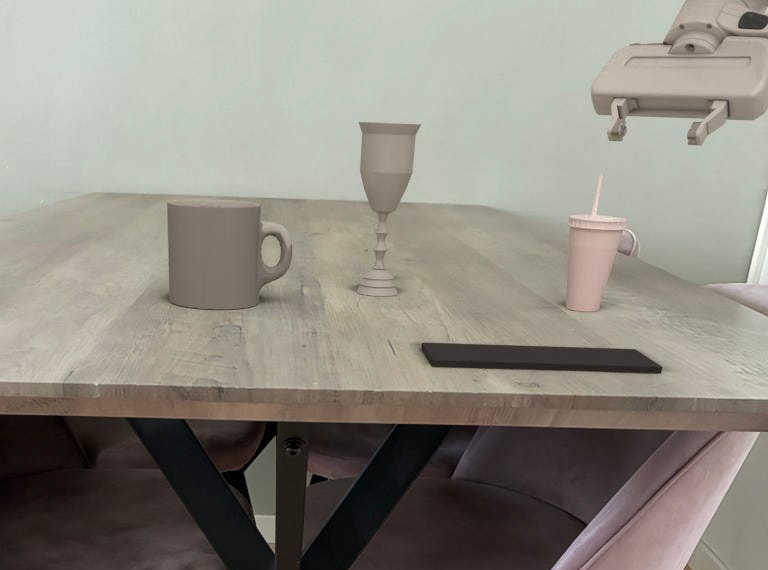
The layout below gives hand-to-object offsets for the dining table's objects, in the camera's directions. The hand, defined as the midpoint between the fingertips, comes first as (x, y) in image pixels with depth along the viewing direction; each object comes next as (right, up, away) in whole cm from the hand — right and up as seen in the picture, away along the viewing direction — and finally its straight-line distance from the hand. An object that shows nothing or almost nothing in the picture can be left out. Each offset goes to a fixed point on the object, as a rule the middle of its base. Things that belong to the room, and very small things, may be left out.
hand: (652, 139), depth 109 cm
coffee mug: (-48, -20, -3) cm, 52 cm away
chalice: (-31, -16, +6) cm, 35 cm away
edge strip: (-19, -32, -24) cm, 45 cm away
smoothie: (-8, -19, +1) cm, 21 cm away
